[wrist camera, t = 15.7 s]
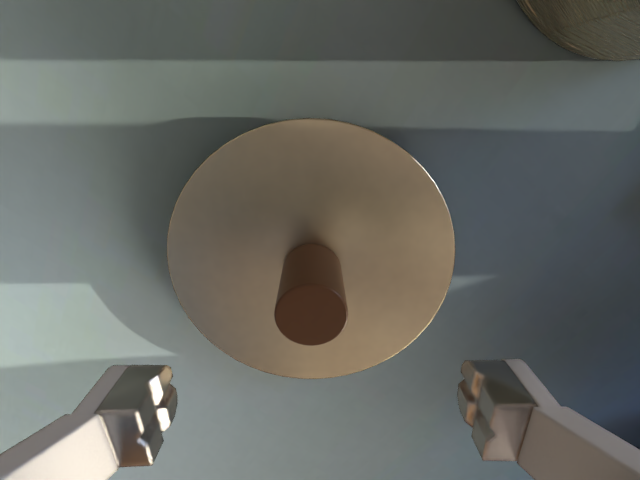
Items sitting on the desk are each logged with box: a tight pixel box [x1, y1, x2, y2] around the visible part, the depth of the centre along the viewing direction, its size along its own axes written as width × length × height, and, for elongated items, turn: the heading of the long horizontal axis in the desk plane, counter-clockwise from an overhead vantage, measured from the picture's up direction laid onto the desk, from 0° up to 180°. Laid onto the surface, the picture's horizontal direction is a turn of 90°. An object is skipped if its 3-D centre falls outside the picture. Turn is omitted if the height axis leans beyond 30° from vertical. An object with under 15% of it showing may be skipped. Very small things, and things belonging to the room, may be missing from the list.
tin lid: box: [167, 118, 455, 379], centre depth 14 cm, size 13×13×5 cm
